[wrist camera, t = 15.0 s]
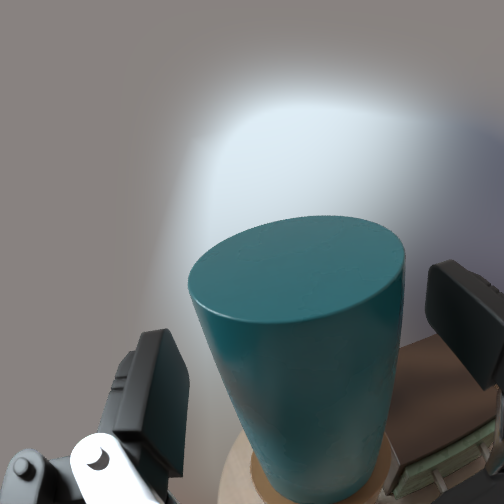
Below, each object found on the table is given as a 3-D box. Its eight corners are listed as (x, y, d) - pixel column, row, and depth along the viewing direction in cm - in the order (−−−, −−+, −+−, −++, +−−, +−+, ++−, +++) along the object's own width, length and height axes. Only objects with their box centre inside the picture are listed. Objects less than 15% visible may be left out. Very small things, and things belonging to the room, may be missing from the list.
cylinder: (271, 516, 10) (173, 347, 6) (259, 427, 16) (196, 239, 11) (391, 484, 10) (452, 276, 6) (357, 403, 16) (353, 204, 11)
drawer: (499, 479, 16) (526, 450, 13) (407, 531, 16) (425, 515, 13) (439, 384, 31) (450, 347, 29) (361, 415, 31) (364, 381, 29)
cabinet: (481, 447, 21) (508, 405, 18) (385, 495, 21) (399, 465, 18) (434, 376, 34) (445, 329, 30) (351, 407, 34) (352, 363, 30)
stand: (293, 561, 17) (256, 531, 10) (283, 502, 24) (244, 419, 17) (370, 541, 17) (411, 490, 10) (353, 485, 24) (365, 389, 17)
